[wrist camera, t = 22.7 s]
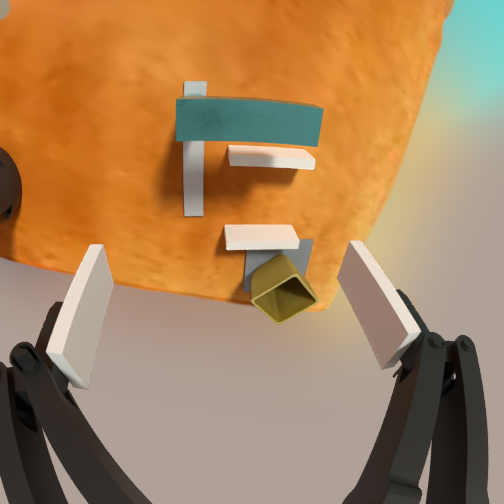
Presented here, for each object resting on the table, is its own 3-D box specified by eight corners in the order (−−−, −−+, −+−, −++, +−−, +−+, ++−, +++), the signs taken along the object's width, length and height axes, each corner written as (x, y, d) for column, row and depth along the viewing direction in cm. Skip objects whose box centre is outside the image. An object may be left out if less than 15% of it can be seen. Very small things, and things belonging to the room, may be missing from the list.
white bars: (185, 233, 46) (184, 250, 42) (184, 81, 32) (181, 82, 28) (290, 232, 49) (298, 248, 45) (313, 90, 35) (326, 93, 31)
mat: (242, 289, 56) (243, 291, 55) (247, 239, 49) (247, 241, 48) (300, 287, 58) (301, 289, 57) (312, 239, 51) (313, 241, 50)
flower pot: (242, 265, 51) (249, 301, 44) (282, 239, 49) (296, 273, 42) (268, 291, 56) (277, 325, 49) (305, 268, 54) (320, 301, 47)
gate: (186, 118, 34) (175, 141, 24) (187, 90, 32) (176, 99, 21) (283, 121, 36) (317, 146, 26) (286, 95, 34) (323, 108, 23)
